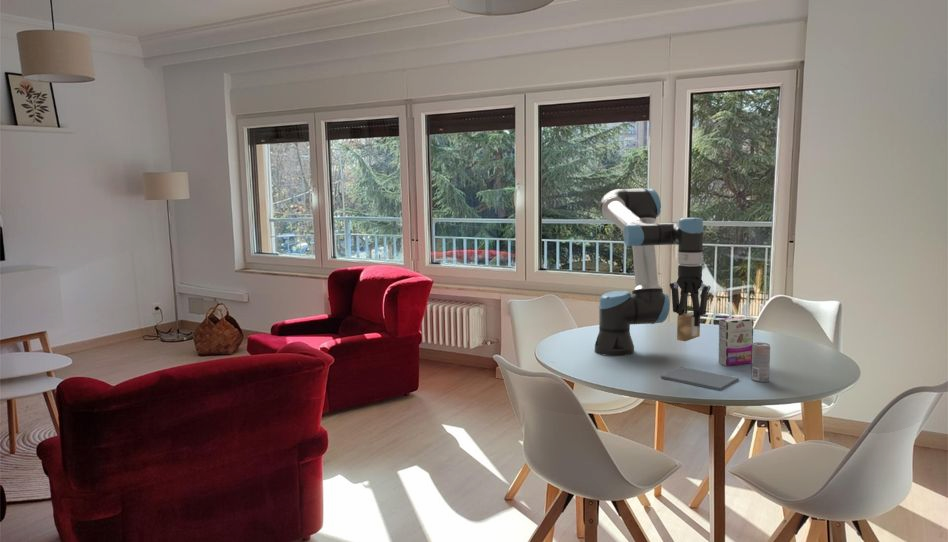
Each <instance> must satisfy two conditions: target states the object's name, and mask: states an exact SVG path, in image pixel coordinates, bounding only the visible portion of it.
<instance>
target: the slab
mask: <svg viewBox="0 0 948 542" xmlns="http://www.w3.org/2000/svg"><path fill="white" fill-rule="evenodd" d="M693 315H694V313H693V311H690V312H687V313H684V314H683V315H680V316H679V315H677V322H676V323H677V324H676V325H677V327H676V331H677V333H676V340H677V341H681V342H688V341H691V340H693V339H695V338H699V337H700V335H701V334H700V333H701V324H700V325H699V326H697V335H696V336H691V318H692V316H693Z"/></svg>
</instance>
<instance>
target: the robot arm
mask: <svg viewBox="0 0 948 542" xmlns="http://www.w3.org/2000/svg"><path fill="white" fill-rule="evenodd" d="M598 208H599V212H600V214H601V216H602V217H604V219H605V220H607V221H608V222H612V223H613V224H615V225H616V226H617V228H618V229H620V230H621V231H622V237H623V241H624V244H625V245H627V246H629V247H632V259H633V271H634V283H635V287H634V288H633V289H632V290H631V292H632V294H631V293H630V291H629V290H614V291H609V292H608V291H607V292H605V293H603V294H601V295H600V297H599V302H598V303H599V304H598V310H599V312H598V313H599V316H598V317H599V319H598V321H599V323H598V326H599V327H598V329H599V331H598V334H597V338H596V339H595V344H594V352H595V353H597V354H600V355H603V356H604V355H605V356H612V357H616V356H617V357H620V356H621V357H622V356H623V357H624V356H630V355H632V354H634V353H635V344H634V341H633V338H632V336H631V331H630V330H631V329H630V327H631V325H648V324H649V325H654V324H655V325H656V324H661V323H664V322H665V321H666V320H667V318H668V316H669V312H670V307H671V306H670V305H671V302H672V312H673V313H676V314H677V316H680V315H683V314H686V308H687V307H686V306H687V302H688V301H687V300H688V295H690V297H691V304H692V312H693V313H694V315H693V316H692V318H691V336H696V335H697V326H699V325H700V326H701V316H705V315H706V313H707V306H708V297H709V292H710V289H711V286H710V285H707V284H705V283H704V281H703V266H702V264H703V249H704V248H703V247H704V245H703V244H704V220H703V219H702V218H701V217H681V218H680V219H679V220H678V221H671V222H657V218H658V217H659V216H660V214H661V211H662V210H661V209H662V203H661V199H660V195H659V193H658V192H657V190H655V189H653V188H645V187H641V188H639V187H638V188H637V187H635V188H615V189H612V190H610V191H608V192H607V193H605V194H604V195H603V196H602V197H601V199H600V201H599V207H598ZM669 245H671V246H672V245H677V246H678V253H677V256H678V257H677V262H678V266H677V276H678V277H677V280H676V281H675V282H671V283H669V288H670V291H671V300H672V301H671V302H670V297H669V295H668V294H667V293H666V292H663V291H664V290H663V289H664V288H663V287H662V286H661V285H659V282H658V281H659V280H658V279H659V277H658V271H657V270H658V269H657V257H656V246H669ZM679 288H680V295H679ZM699 290H701V293H700V292H699ZM699 293H700V299H699Z"/></svg>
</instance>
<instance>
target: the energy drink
mask: <svg viewBox="0 0 948 542" xmlns="http://www.w3.org/2000/svg"><path fill="white" fill-rule="evenodd" d="M770 365H771V345H770V344H769V343H766V342H753V346H752V363H751V373H750V374H751V376H750V377H751V380H752V381H754V382H757V383H767V382H769V381H770V367H771V366H770Z"/></svg>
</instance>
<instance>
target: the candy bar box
mask: <svg viewBox="0 0 948 542" xmlns="http://www.w3.org/2000/svg"><path fill="white" fill-rule="evenodd" d="M753 343H754V318H751V317H748V316H741V317H739V316H738V317H731V318H721V319H718V364H719V365H721V366H725V367H733V366H741V365H743V366H744V365H750V364H751V365H752V346H753Z"/></svg>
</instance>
